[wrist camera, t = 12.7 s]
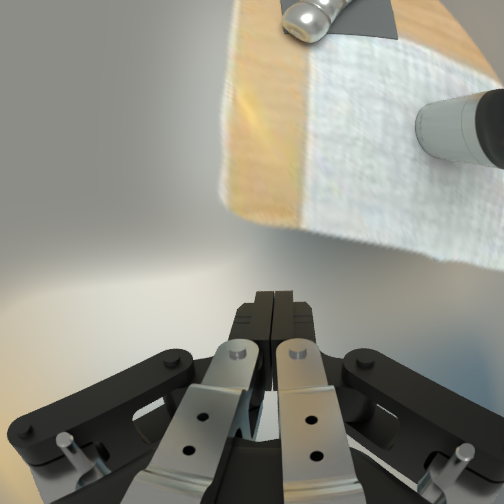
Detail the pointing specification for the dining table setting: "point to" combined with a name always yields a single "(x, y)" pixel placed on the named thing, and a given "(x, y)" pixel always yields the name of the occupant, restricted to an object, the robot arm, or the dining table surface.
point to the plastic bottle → (312, 18)
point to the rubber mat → (360, 19)
